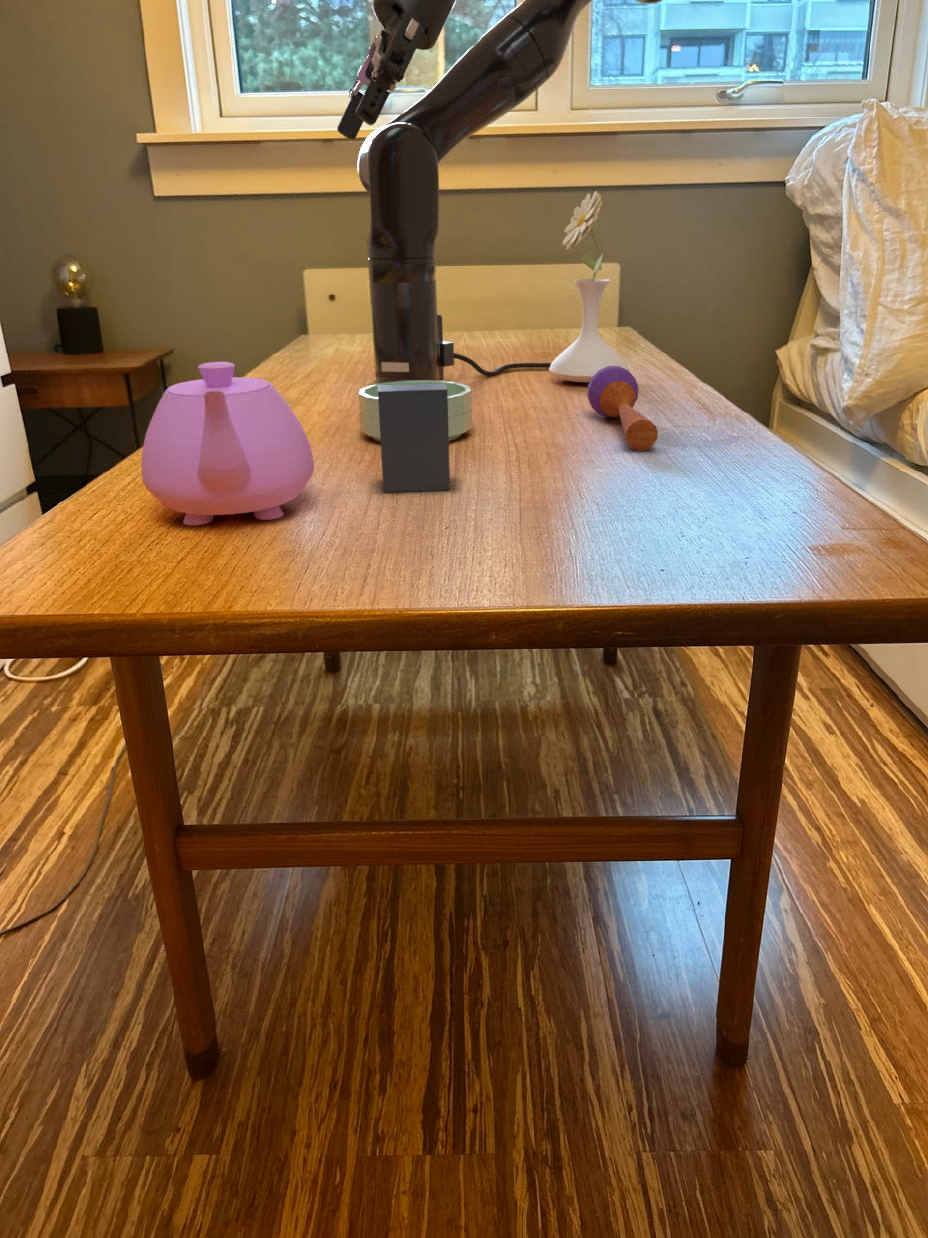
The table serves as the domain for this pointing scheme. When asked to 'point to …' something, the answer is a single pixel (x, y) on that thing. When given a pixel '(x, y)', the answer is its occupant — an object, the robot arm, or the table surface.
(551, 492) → the table surface
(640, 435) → the kendama
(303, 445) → the teapot
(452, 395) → the bowl
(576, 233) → the flower in vase
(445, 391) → the dark gray rectangular block
